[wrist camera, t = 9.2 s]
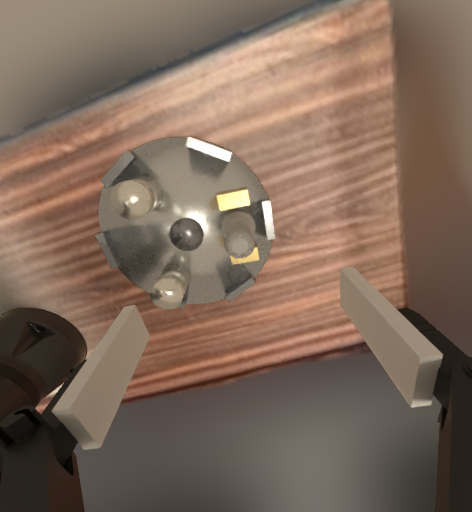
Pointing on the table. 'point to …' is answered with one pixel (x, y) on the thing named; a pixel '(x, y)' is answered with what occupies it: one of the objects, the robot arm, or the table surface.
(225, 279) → the carrier plate
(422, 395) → the robot arm
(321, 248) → the table surface
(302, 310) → the table surface
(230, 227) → the rook chess piece
